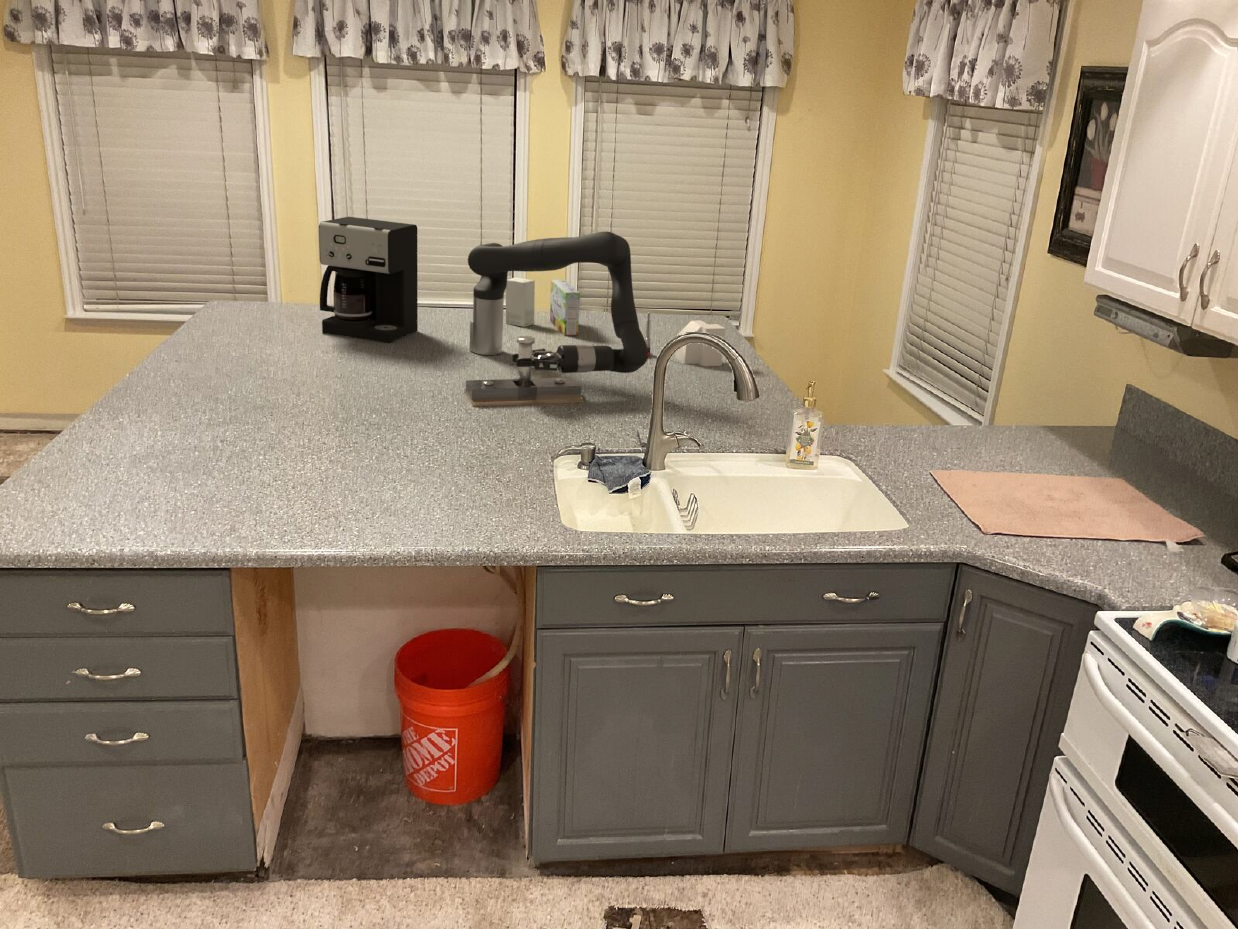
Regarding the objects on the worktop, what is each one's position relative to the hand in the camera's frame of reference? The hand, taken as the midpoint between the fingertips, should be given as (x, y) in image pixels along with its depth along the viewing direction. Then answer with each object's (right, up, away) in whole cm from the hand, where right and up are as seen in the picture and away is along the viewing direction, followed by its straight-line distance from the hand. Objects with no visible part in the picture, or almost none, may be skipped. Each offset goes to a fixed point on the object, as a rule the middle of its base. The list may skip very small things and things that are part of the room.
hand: (514, 360), depth 270 cm
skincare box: (-7, +21, +83) cm, 85 cm away
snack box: (+8, +19, +81) cm, 84 cm away
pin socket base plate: (+2, -10, +5) cm, 11 cm away
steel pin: (+2, -8, +4) cm, 9 cm away
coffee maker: (-55, +15, +58) cm, 81 cm away
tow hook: (+33, +7, +55) cm, 65 cm away
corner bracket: (+53, +5, +53) cm, 75 cm away
